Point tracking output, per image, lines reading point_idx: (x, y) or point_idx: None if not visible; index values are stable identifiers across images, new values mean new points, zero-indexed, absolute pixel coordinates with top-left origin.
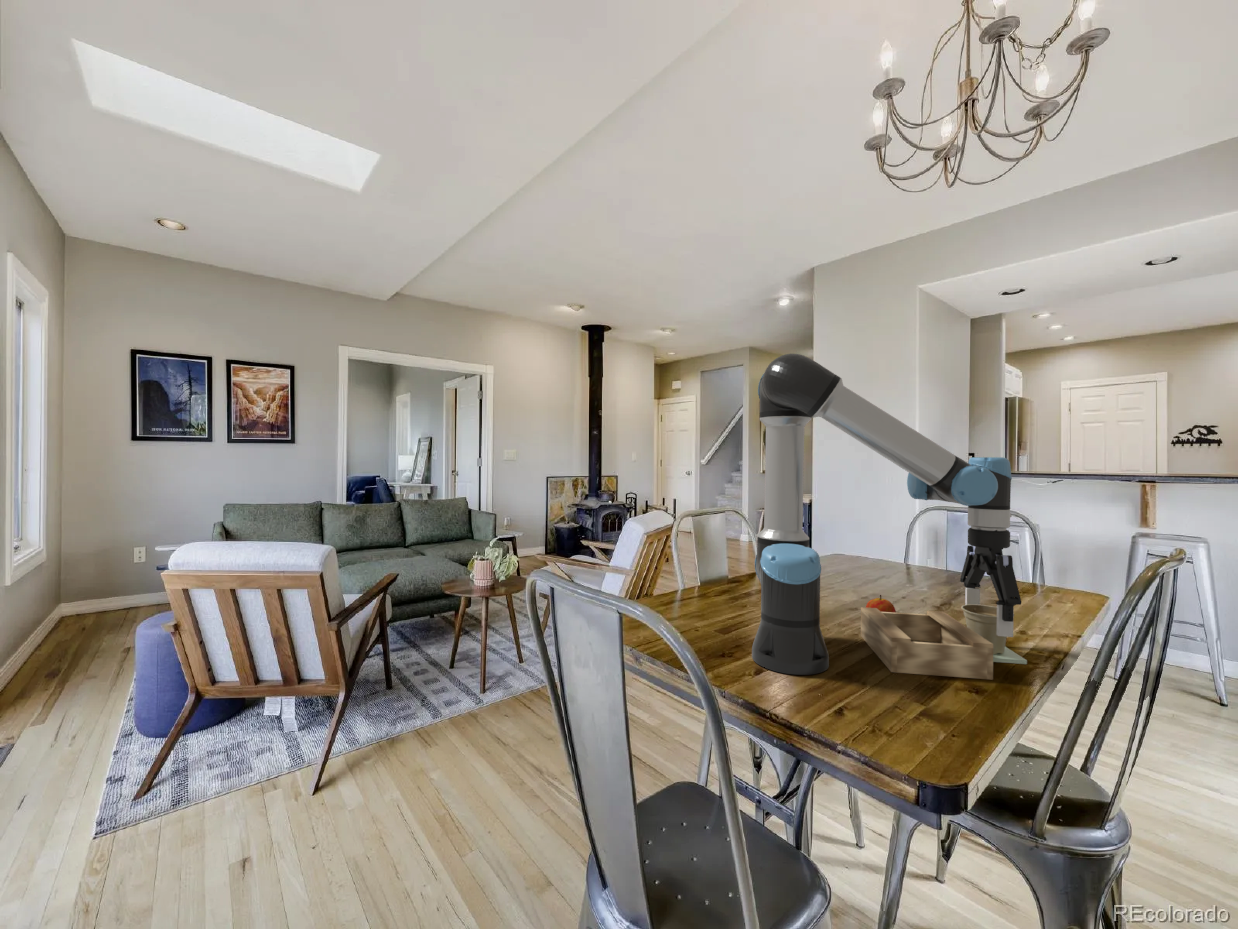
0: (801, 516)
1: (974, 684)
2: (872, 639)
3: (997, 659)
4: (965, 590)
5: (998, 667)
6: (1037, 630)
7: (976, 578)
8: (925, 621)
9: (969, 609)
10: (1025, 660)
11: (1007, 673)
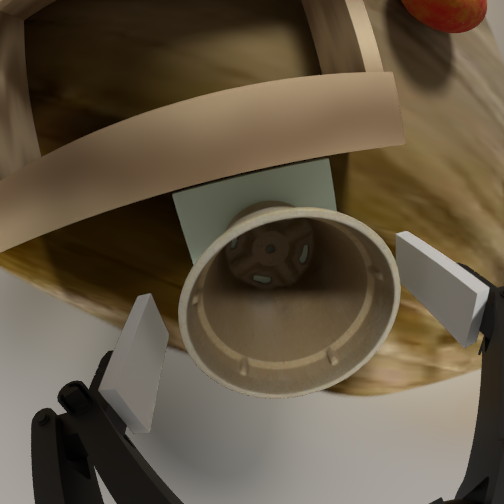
0: None
1: None
2: None
3: (193, 259)
4: (479, 280)
5: (148, 249)
6: (456, 359)
7: (488, 380)
8: (350, 66)
9: (372, 252)
10: None
11: (112, 261)
